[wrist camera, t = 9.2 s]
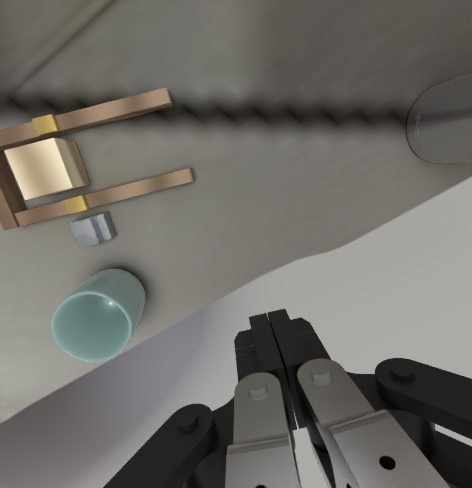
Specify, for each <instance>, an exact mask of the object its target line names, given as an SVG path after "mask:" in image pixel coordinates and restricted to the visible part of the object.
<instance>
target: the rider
mask: <svg viewBox="0 0 472 488" xmlns="http://www.w3.org/2000/svg"><path fill="white" fill-rule="evenodd" d="M4 151H5V154H6V156H7V158H8V161H9V163H10V165H11V168H12V170H13V173H14V175H15V177H16V180H17V182H18V184H19V187H20V189H21V191H22V194H23V196H24V199H25V200H28V199H33V198H39V197H44V196H50V195H53V194H57V193H61V192H65V191H69V190H73V189H77V188H80V187H84V186H88V185H91V184H90V181H89V179H88V176H87V173H86V170H85V168H84V165H83V162H82V159H81V157H80V154H79V151H78V148H77V146H76V143H75V141H69V140H64V139H58V138H51V139H47V140H43V141H39V142H35V143H31V144H28V145H24V146H20V147H16V148H12V149H8V150H4Z"/></svg>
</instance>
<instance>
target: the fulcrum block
mask: <svg viewBox="0 0 472 488" xmlns="http://www.w3.org/2000/svg"><path fill="white" fill-rule="evenodd" d="M69 224H70V227H71V229H72V232H73V235H74V237H75V240H76V242H77V245H78V247H81V248H85V247H88V246H92V245H96V244H99V243H101V242H102V241H104V240H108V239H112V238H113V237H114V236H116V235H117V234H116V232H115V229H114V226H113V223H112V220H111V218H110V215H109V212H104V213H101V214H97V215H93V216H89V217H85V218H81V219H78V220H75V221H72V222H70V223H69Z"/></svg>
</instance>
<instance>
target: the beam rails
mask: <svg viewBox="0 0 472 488" xmlns="http://www.w3.org/2000/svg"><path fill="white" fill-rule="evenodd" d="M170 107H173V103H172V100H171V96H170V93H169V91H168V89H167V87H166V88H162V89H158V90H154V91H150V92H146V93H142V94H138V95H134V96H131V97H127V98H123V99H119V100H115V101H111V102H107V103H103V104H100V105H96V106H92V107H88V108H84V109H80V110H76V111H72V112H68V113H65V114H61V115H57V116H55V115H52V114H50V115H46V116H42V117H38V118H35V119H32V120H33V122H30V123H26V124H22V125H18V126H14V127H10V128H6V129H2V130H0V222H1V224H2V227H3V229H4V231H5V230H9V229H13V228H16V227H20V226H23V225H27V224H31V223H35V222H39V221H43V220H46V219H50V218H54V217H58V216H62V215H66V214H72V213H76V212H80V211H84V210H87V209H90V208H93V207H96V206H100V205H104V204H108V203H112V202H116V201H119V200H123V199H127V198H131V197H135V196H139V195H142V194H146V193H150V192H154V191H158V190H162V189H165V188H169V187H173V186H177V185H181V184H185V183H188V182H192V181H194V178H193V175H192V171H191V168H187V169H184V170H180V171H176V172H172V173H168V174H164V175H161V176H157V177H153V178H149V179H145V180H141V181H138V182H134V183H130V184H126V185H122V186H118V187H114V188H111V189H107V190H103V191H99V192H95V193H91V194H88V195H82V196H78V197H74V198H70V199H66V200H64V201H61V202H57V203H53V204H49V205H45V206H41V207H38V208H34V209H30V210H27V208H26V206H25V204H24V201H23V199H22V197H21V194H20V192H19V190H18V187H17V185H16V183H15V180H14V178H13V175H12V173H11V171H10V168H9V166H8V164H7V161H6V159H5V157H4V154H3V152H2V151H3V150H7V149H11V148H15V147H19V146H22V145H26V144H30V143H34V142H38V141H42V140H46V139H50V138H53V137H57V136H61V135H65V134H69V133H73V132H77V131H81V130H84V129H88V128H92V127H96V126H100V125H104V124H108V123H112V122H115V121H119V120H123V119H127V118H131V117H135V116H139V115H143V114H146V113H150V112H154V111H158V110H162V109H166V108H170Z"/></svg>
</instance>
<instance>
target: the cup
mask: <svg viewBox="0 0 472 488" xmlns="http://www.w3.org/2000/svg"><path fill="white" fill-rule="evenodd" d="M144 306H145V291H144V288H143V286H142V284H141V282H140V281H139V280H138V279H137V278H136V277H135V276H134V275H133V274H131V273H130V272H127V271H125V270H122V269H117V268H110V269H105V270H102V271H100V272H98V273H96V274H94V275H92V276H91V277H89V278H88V279H86V280H85V281H84V282H82V283H81V284H80V285H79V286H78V287H77V288H75V289H74V290H73V291H72V292H71V293H70V294H69V295H68V296H67V297H66V298H65V299H64V300H63V301H62V302H61V303H60V304H59V305H58V307H57V308H56V310H55V312H54V314H53V316H52V320H51V332H52V335H53V338H54V340H55V341H56V343H57V344H58V345H59V347H60V348H61V349H62V350H63V351H65V352H66V353H67V354H68V355H70V356H72V357H74V358H76V359H78V360H81V361H84V362H89V363H100V362H105V361H107V360H110V359H112V358H114V357H115V356H117V355H118V354H119V353H120V352H122V351H123V350H124V348H125V347H126V346H127V345H128V343H129V342H130V340H131V338H132V336H133V334H134V332H135V330H136V328H137V326H138V324H139V321H140V319H141V316H142V314H143V310H144Z"/></svg>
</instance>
